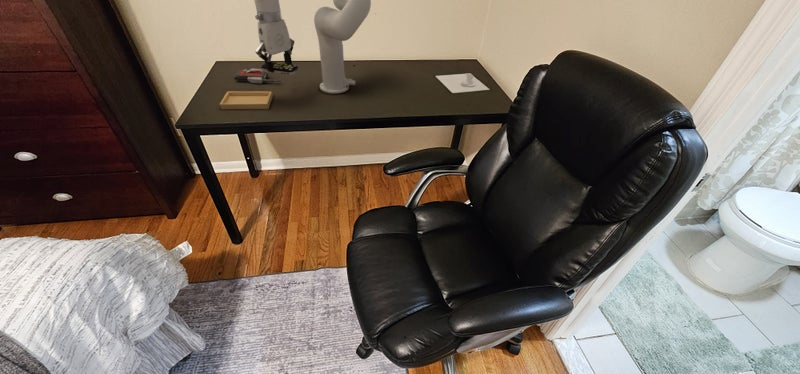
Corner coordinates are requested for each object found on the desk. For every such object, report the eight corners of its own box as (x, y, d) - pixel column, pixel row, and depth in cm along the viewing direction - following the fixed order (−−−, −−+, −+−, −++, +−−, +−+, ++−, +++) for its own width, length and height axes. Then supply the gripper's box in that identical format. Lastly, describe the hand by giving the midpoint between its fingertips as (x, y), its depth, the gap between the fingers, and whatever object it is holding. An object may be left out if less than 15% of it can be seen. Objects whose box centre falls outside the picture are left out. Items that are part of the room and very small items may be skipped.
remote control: (269, 65, 120) (268, 60, 119) (300, 70, 119) (299, 64, 118) (260, 71, 116) (259, 66, 115) (292, 76, 114) (291, 70, 113)
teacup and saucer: (463, 87, 147) (464, 79, 145) (455, 80, 153) (457, 72, 150) (479, 86, 150) (481, 78, 147) (471, 79, 155) (473, 71, 153)
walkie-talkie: (233, 83, 135) (280, 85, 137) (230, 73, 132) (278, 75, 134) (239, 75, 142) (284, 77, 144) (236, 65, 139) (282, 67, 141)
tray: (272, 96, 129) (271, 91, 128) (268, 108, 121) (267, 103, 119) (228, 96, 126) (227, 91, 125) (221, 109, 118) (219, 104, 117)
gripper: (255, 23, 98) (267, 78, 110) (297, 14, 109) (304, 64, 121) (240, 19, 101) (253, 72, 113) (282, 10, 112) (290, 59, 124)
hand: (280, 68), depth 117 cm, fingers closed on remote control, 7 cm apart
